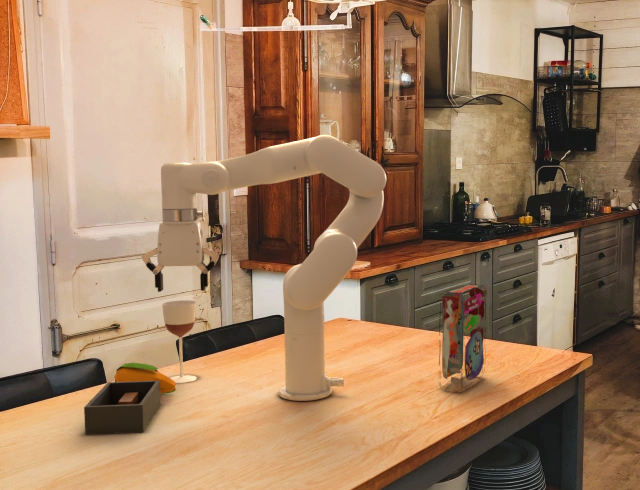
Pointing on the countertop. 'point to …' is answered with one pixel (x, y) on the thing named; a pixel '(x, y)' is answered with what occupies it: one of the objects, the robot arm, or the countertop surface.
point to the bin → (122, 408)
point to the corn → (144, 376)
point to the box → (457, 327)
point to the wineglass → (180, 327)
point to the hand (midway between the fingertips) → (181, 290)
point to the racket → (129, 399)
